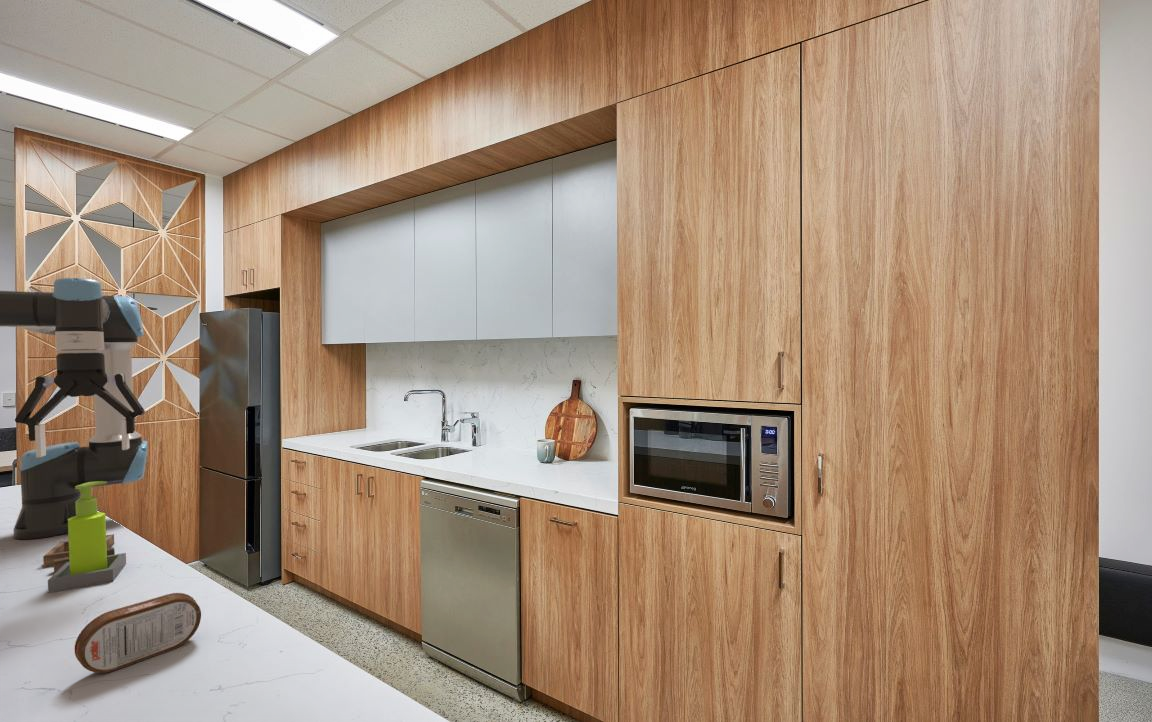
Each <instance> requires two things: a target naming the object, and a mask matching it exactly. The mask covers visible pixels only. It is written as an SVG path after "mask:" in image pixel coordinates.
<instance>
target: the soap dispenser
mask: <svg viewBox="0 0 1152 722" xmlns="http://www.w3.org/2000/svg"><path fill="white" fill-rule="evenodd" d="M106 483H107V482H106V481H94V482H87V483H84V484H81V485H78V486H75V489H80V492H81V499H79V500H77V501H76V502H75V504H76V516H74V517H71V518H69V519H68V533H67V534H68V536H67V537H68V541H69V562H70V575H73V574H79V573H85V572H91V571H97V570H103V569H108V568H107V543H106V535H107V522H106V520H107V519H106V512H99V511H98V498H97V497H94V496H92V488H93V487H92V486H95V485H99V484H106Z"/></svg>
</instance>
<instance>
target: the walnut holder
mask: <svg viewBox="0 0 1152 722" xmlns="http://www.w3.org/2000/svg"><path fill="white" fill-rule="evenodd" d="M106 543H107V549H108V548H112V547H113V546H114V545H115V534H114V533H113V534H106ZM65 557H69V540H65V541H60V542H59V543H57V544H55V546H54V547H52V548H51V549H50V550H49V551H48V552H47V553H45V554H44V555H43V557H42V558H43V560H42V561H43V568H48V567H54V560H56V559H61V558H65Z"/></svg>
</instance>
